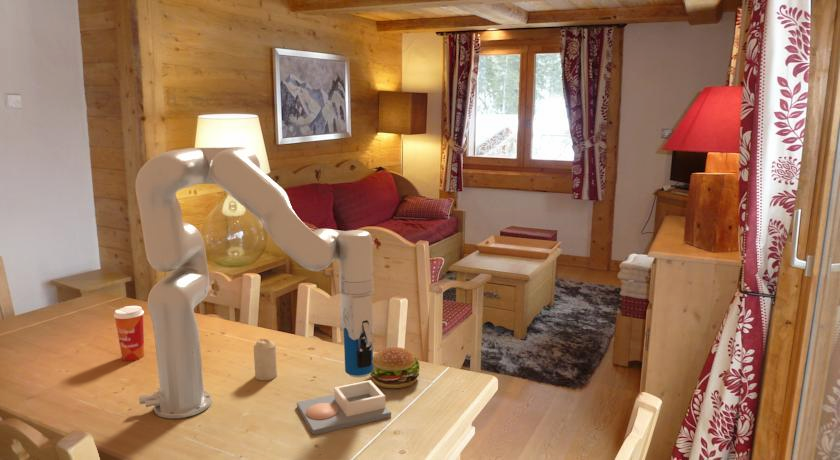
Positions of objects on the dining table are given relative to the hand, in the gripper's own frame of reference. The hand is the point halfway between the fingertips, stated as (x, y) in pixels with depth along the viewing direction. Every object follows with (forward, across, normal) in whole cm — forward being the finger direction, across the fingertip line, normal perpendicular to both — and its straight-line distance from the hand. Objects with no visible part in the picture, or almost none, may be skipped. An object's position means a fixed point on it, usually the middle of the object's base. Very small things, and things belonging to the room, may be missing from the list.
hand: (358, 360), depth 142 cm
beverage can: (+3, 0, 0) cm, 3 cm away
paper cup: (+12, -56, -47) cm, 74 cm away
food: (+12, -11, +13) cm, 21 cm away
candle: (+12, -27, -16) cm, 34 cm away
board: (+12, 0, -4) cm, 13 cm away
